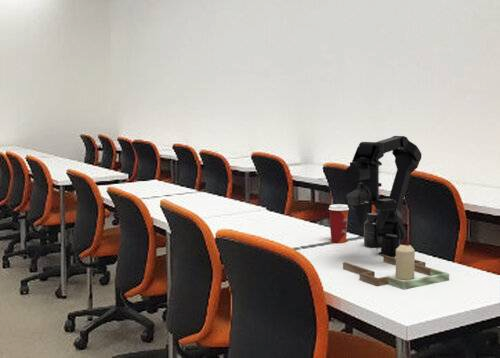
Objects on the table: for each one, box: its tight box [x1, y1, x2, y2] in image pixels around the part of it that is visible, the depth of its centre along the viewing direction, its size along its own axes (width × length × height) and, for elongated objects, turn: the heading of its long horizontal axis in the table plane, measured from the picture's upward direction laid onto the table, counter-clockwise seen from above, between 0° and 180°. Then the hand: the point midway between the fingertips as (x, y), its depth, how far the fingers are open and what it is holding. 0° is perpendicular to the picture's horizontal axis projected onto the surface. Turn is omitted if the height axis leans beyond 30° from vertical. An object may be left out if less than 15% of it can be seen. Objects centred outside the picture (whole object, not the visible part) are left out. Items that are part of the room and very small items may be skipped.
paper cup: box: [328, 203, 350, 244], centre depth 247 cm, size 8×8×14 cm
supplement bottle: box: [363, 212, 382, 249], centre depth 239 cm, size 7×7×12 cm
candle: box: [395, 244, 416, 281], centre depth 195 cm, size 6×6×10 cm
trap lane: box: [342, 255, 450, 290], centre depth 200 cm, size 26×28×2 cm
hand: (369, 227), depth 214 cm, fingers open, 9 cm apart
